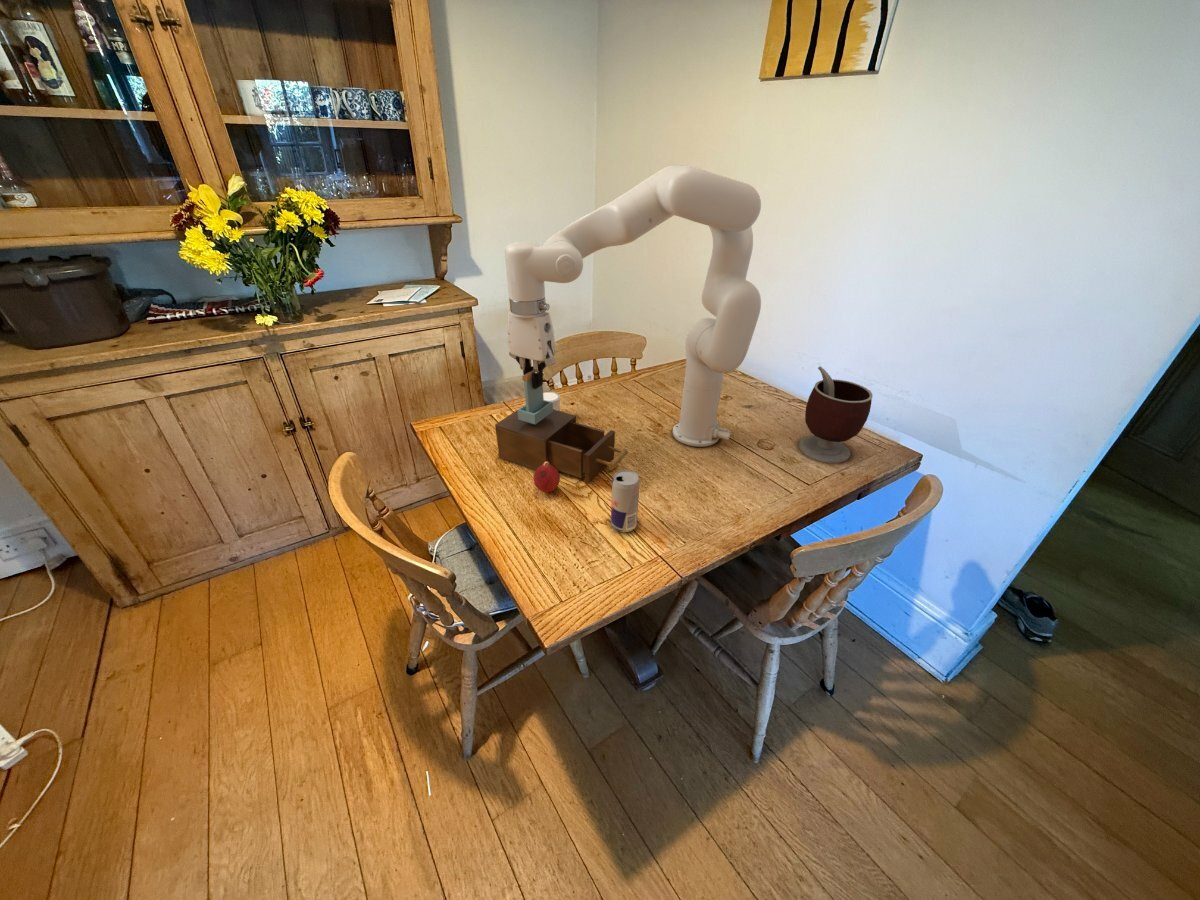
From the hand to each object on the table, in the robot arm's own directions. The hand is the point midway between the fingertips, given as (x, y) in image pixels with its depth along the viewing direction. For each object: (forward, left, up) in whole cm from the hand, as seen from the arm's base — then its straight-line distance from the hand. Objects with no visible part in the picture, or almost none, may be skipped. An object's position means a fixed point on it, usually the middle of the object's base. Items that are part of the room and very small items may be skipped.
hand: (533, 385), depth 107 cm
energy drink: (-31, +13, -19) cm, 39 cm away
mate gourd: (-63, -39, -19) cm, 76 cm away
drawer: (-14, 0, -18) cm, 23 cm away
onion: (-11, +12, -19) cm, 25 cm away
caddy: (0, 0, -8) cm, 8 cm away
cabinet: (0, 0, -19) cm, 19 cm away
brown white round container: (+8, -17, -19) cm, 26 cm away
